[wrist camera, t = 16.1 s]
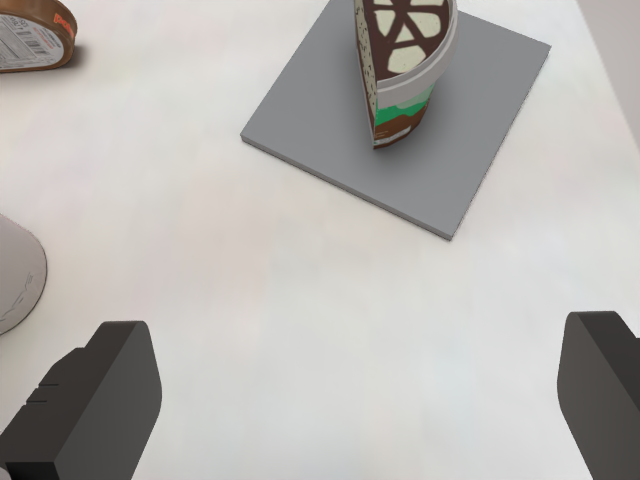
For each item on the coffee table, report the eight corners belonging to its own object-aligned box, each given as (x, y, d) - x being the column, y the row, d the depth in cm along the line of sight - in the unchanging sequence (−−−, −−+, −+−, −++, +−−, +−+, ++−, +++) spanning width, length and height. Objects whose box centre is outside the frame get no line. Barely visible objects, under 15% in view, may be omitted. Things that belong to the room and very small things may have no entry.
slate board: (242, 140, 46) (239, 134, 45) (351, -22, 50) (350, -31, 49) (450, 240, 42) (452, 236, 41) (548, 54, 46) (551, 46, 45)
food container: (458, 155, 43) (483, 74, 33) (376, 167, 43) (378, 90, 34) (427, 21, 47) (442, -84, 37) (353, 33, 47) (349, -69, 38)
